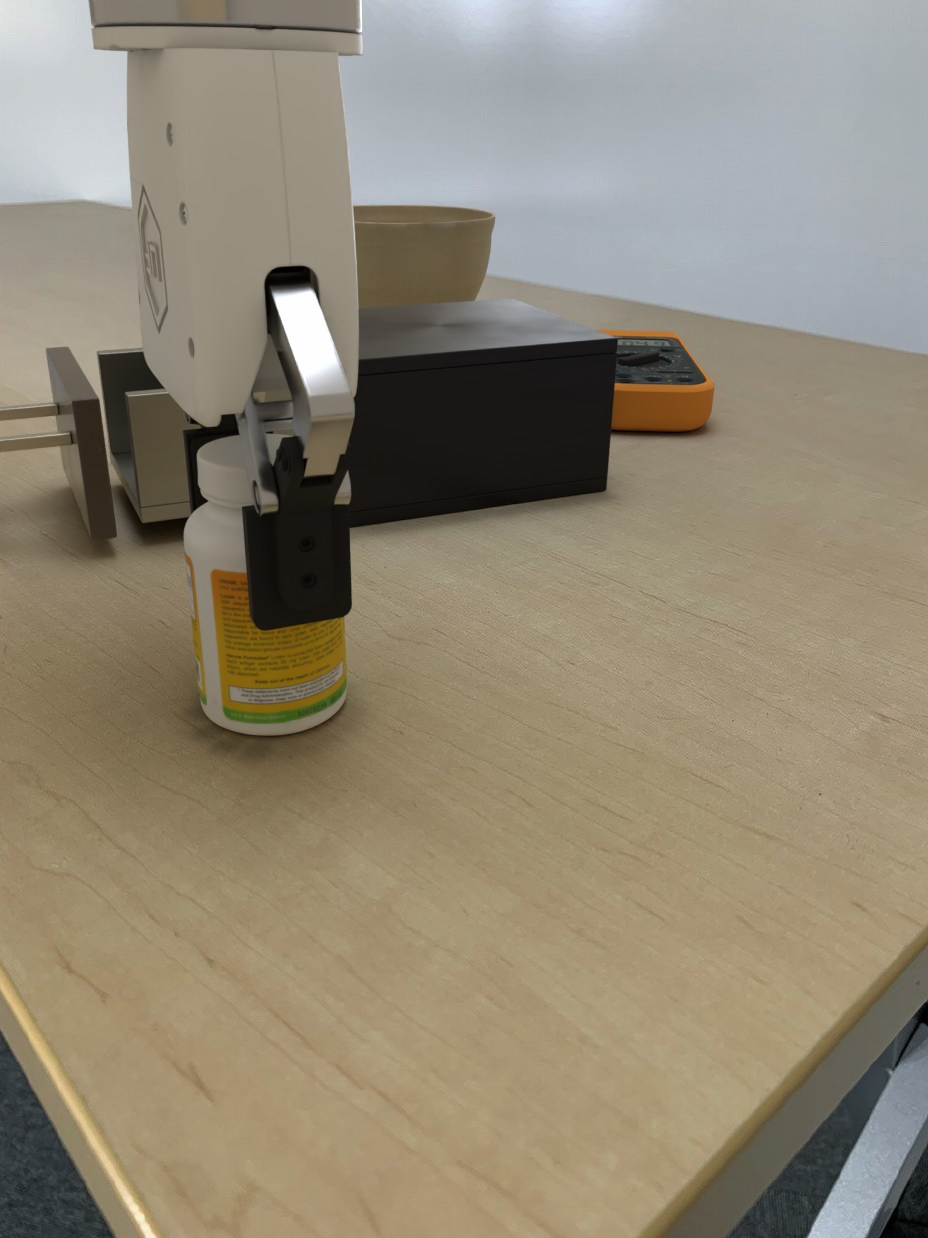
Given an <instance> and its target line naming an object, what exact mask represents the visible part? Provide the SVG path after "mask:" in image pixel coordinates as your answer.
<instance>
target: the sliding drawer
mask: <svg viewBox="0 0 928 1238" xmlns="http://www.w3.org/2000/svg"><path fill="white" fill-rule="evenodd" d="M45 355H46V361H47V368H48V375H49V382H50V388H51V395H52V402H40V403H39V402H38V403H29V404H17V405H5V406H0V422H4V421H14V420H25V419H36V418H46V417H47V418H48V417H55V422H56V429H57V431H47V432H37V433H28V434H26V433H25V434H17V435H7V436H0V453H7V452H8V453H9V452H17V451H29V450H37V449H48V448H57V447H59V449H60V456H61V462H62V463H61V464H62V469H63V473H64V474H65V477H66V479H67V481H68V485H69V487H70V490H71V492H72V495H73V497H74V500H75V502H76V505H77V507H78V510H79V513H80V515H81V517H82V520H83V522H84V525H85V527H86V530H87V533H88V536H89V538H90V540H91V541H92V542H93V541H94V542H95V541H102V540H110V539H115V538H117V537H118V530H117V524H116V517H115V509H114V501H113V494H112V485H111V478H110V471H109V462H108V454H107V446H106V438H105V431H104V424H103V423H104V422H103V417H102V415H103V414H102V408H101V401H100V398H99V396H98V394H97V393H96V391H95V389H94V387H93V386H92V384H91V383H90V381H89V379H88V378H87V376H86V374H85V373H84V370H83V369H82V367H81V366H80V364H79V362H78V361H77V359H76V357H75V355H74V354H73V352H72V350H71V349H70V347H69V346H55V347H54V346H53V347H46V348H45ZM96 358H97V365H98V366H97V367H98V373H99V374H98V375H99V381H100V389H101V395H102V396H101V397H102V405H103V413H104V420H105V427H106V436H107V442H108V450H109V451H108V452H109V458H110V464H111V466H112V467H113V469H114V472H115V474H116V475H117V477H118V479H119V481H120V483H121V485H122V487H123V489H124V491H125V493H126V495H127V497H128V498H129V500H130V503H131V504H132V507H133V508H134V510H135V512H136V513H137V516H138V517H139V520H140V522H141V523H142V524H147V523H156V522H162V521H171V520H177V519H186V518H189V517H190V516H191V508H190V498H189V488H188V478H187V468H186V458H185V447H184V437H183V430H190V429H199V428H201V426H194V427H187V425H186V422H185V418H184V413H183V409H182V408H181V407H180V406H179V404H178V403H177V402H176V401H175V400H174V399H173V398H172V396H171V395H170V394H169V393H168V392H167V390H166V389H165V388H164V387H163V385H162V384H161V383H160V382H159V380H158V379H157V378H156V376H155V375H154V374H153V372H152V371H151V370H150V368H149V366H148V365H147V362H146V360H145V356H144V352H143V347H134V348H130V347H129V348H117V349H104V350H96ZM281 400H292V397H291V393H290V390H278V391H267V392H266V394H265V402H271V401H281ZM273 434H280V435H288V436H294V430H293V429H288V430H279V431H273Z"/></svg>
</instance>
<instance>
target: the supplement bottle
mask: <svg viewBox="0 0 928 1238" xmlns="http://www.w3.org/2000/svg"><path fill="white" fill-rule="evenodd" d="M266 436H267V441H268V445H269V450H270V455H271V460H272V465H273V464H274V461H275V458H276V450H277V449H279V446H280V442H281V440H282V438H283V437H292V436H288V435H280V434H266ZM197 466H198V485H199V487H200V489H201V490H200V491H201V494H202V496H203V497H204V498H206V499H207V500H208V502H207V503H205V504H203V505H202V506H200V507H199V508H198V509H196V510H195V511H194V512H193V513H192V515H191V516H190V517H188V519H187V520H186V523H185V525H184V529H183V550H184V561H185V570H186V580H187V588H188V599H189V600H188V601H189V609H190V618H191V629H192V639H193V649H194V657H195V658H194V660H195V670H196V679H197V688H198V694H199V701H200V705H201V709H202V711H203V712H204V714H205V715H206V717H207V718H208V719H209V720H210V721H212V722H213V723H215V724H216V725H217V726H219V727H221V728H224V729H226V730H229V731H232V732H236V733H240V734H243V735H244V734H245V735H250V736H251V735H253V736H285V735H290V734H291V735H292V734H296V733H300V732H304V731H307V730H309V729H312V728H315V727H316V726H318V725H321V724H322V723H324V722H326V721H328V720H329V719H330V718H331V717H333V716H334V715H335V714H336V713H337V712H338V711H340V709H341V708H342V706H343V704H344V703H345V700H346V697H347V691H348V682H347V681H348V679H347V678H348V677H347V655H346V654H347V653H346V651H347V650H346V630H345V628H346V627H345V616H344V617H341V618H336V619H331V620H325V621H319V622H314V623H308V624H302V625H297V626H291V627H285V628H280V629H274V630H268V631H263V630H260V629H258V628H257V627H256V626H255V624H254V623H253V621H252V619H251V617H250V610H249V596H248V583H247V570H246V557H245V544H244V531H243V518H242V506H250V505H253V500H252V495H251V490H250V485H249V480H248V475H247V470H246V465H245V460H244V455H243V450H242V445H241V440H240V435H236V436H230V437H225V438H221V439H217V440H214V441H211V442H209V443H207V444H205V445H204V446H202V447H201V448H200V449H199V450H198V452H197Z"/></svg>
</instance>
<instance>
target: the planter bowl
mask: <svg viewBox="0 0 928 1238" xmlns="http://www.w3.org/2000/svg"><path fill="white" fill-rule="evenodd" d="M353 214H354V228H355V245H356V262H357V284H358V308H371V307H386V306H402V305H417V304H433V303H448V302H464V301H476V299H477V297H478V295H479V293H480V291H481V288H482V286H483V284H484V280H485V278H486V276H487V275H486V274H487V271H488V267H489V262H490V258H491V256H490V255H491V250H492V235H493V232H494V229H495V224H496V213H494V212H493V211H489V210H485V209H479V208H472V207H464V206H463V207H462V206H453V205H451V206H449V205H433V204H353Z"/></svg>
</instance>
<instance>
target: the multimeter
mask: <svg viewBox="0 0 928 1238" xmlns="http://www.w3.org/2000/svg"><path fill="white" fill-rule="evenodd" d="M596 330H597V331H600V332H602V333H605V334H608V335H610V336H613V337H616V338H618V346H617V352H616V353H617V363H616V376H615V388H614V401H613V414H612V427H611V430H616V431H634V432H636V431H638V432H672V433H673V432H678V433H679V432H690V431H693V430H696V429H698V428H700V427H702V426H703V425H705V424H706V422H707V421H708V420H709V419H710V417H711V414H712V409H713V401H714V393H715V382H713V380H712V379H711V378H710V377H709V376H708V374H707V373H706V372H705V371H704V370H703V368H702V367H701V366H700V365H699V363H698V362H697V361H696V359H695V358H694V356H693V354H692V353H691V352H690V351H689V349H688V348H687V346H686V344H685V342H684V340H683V338H682V337H681V336H680V335H678V334H677V333H675V332H672V331H663V330H626V329H596Z"/></svg>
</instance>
